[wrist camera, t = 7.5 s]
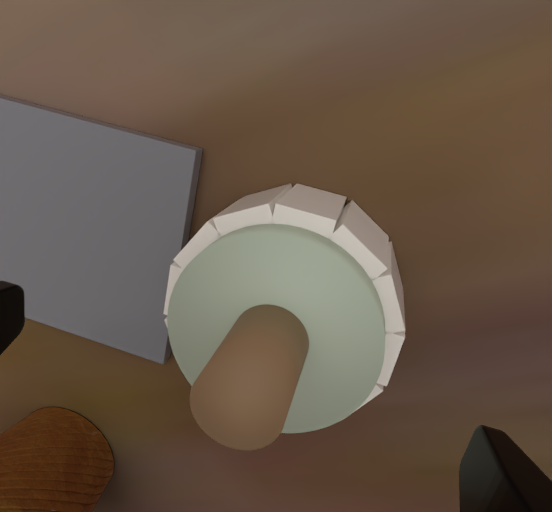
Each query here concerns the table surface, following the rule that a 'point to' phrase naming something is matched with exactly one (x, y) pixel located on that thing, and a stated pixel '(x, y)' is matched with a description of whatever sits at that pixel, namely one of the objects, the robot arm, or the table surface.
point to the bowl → (329, 223)
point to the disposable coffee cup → (53, 463)
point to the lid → (275, 334)
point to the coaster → (93, 223)
